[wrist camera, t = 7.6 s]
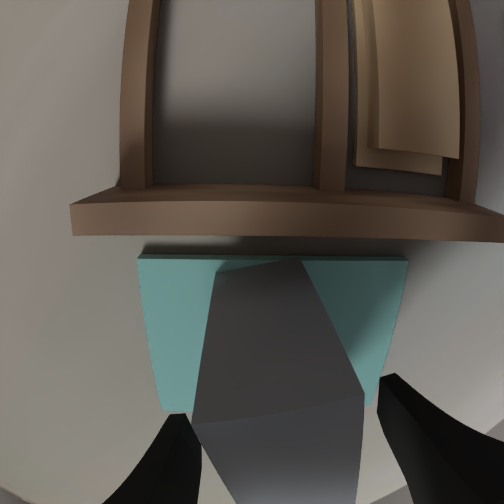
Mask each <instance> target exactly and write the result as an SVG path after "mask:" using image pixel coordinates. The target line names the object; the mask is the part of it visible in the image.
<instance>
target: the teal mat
mask: <svg viewBox="0 0 504 504" xmlns="http://www.w3.org/2000/svg"><path fill="white" fill-rule="evenodd" d="M293 257H298V256H282V255H184V254H140V255H139V257H138V258H137V266H138V275H139V284H140V292H141V299H142V307H143V314H144V320H145V327H146V333H147V339H148V345H149V351H150V356H151V362H152V367H153V372H154V377H155V382H156V387H157V392H158V396H159V401H160V405H161V410H169V411H182V412H193V407H194V401H195V394H196V387H197V381H198V374H199V368H200V361H201V355H202V349H203V342H204V336H205V330H206V324H207V318H208V312H209V306H210V301H211V295H212V289H213V283H214V278H215V273H217V272H223V271H228V270H233V269H238V268H243V267H248V266H253V265H258V264H263V263H268V262H273V261H278V260H283V259H288V258H293ZM299 257H300V259H301V261H302V263H303V265H304V267H305V269H306V271H307V273H308V275H309V277H310V279H311V281H312V283H313V285H314V287H315V289H316V291H317V293H318V295H319V297H320V299H321V301H322V303H323V305H324V307H325V310H326V312H327V314H328V316H329V318H330V320H331V322H332V324H333V326H334V328H335V330H336V332H337V334H338V336H339V339H340V341H341V343H342V345H343V347H344V349H345V351H346V353H347V356H348V358H349V360H350V362H351V364H352V366H353V368H354V371H355V373H356V375H357V377H358V379H359V381H360V384H361V386H362V388H363V390H364V392H365V403H364V405H369V404H371V402H372V399H373V396H374V393H375V390H376V387H377V384H378V381H379V378H380V375H381V372H382V369H383V366H384V362H385V359H386V356H387V352H388V349H389V345H390V342H391V338H392V334H393V330H394V327H395V323H396V319H397V315H398V311H399V306H400V302H401V298H402V293H403V289H404V284H405V279H406V274H407V269H408V264H409V260H407V259H406V258H405V257H403V256H299Z"/></svg>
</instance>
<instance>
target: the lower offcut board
mask: <svg viewBox="0 0 504 504" xmlns="http://www.w3.org/2000/svg"><path fill="white" fill-rule="evenodd" d="M351 7H352V21H353V40H354V71H355V121H354V153H353V166H360V167H372V168H383V169H392V170H402V171H410V172H419V173H426V174H434V175H441V172H442V158H443V156H436V155H429V154H422V153H415V152H407V151H399V150H390V149H380V148H370V147H367V128H368V106H367V68H366V49H365V34H364V22H363V12H362V2H361V0H351Z"/></svg>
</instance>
